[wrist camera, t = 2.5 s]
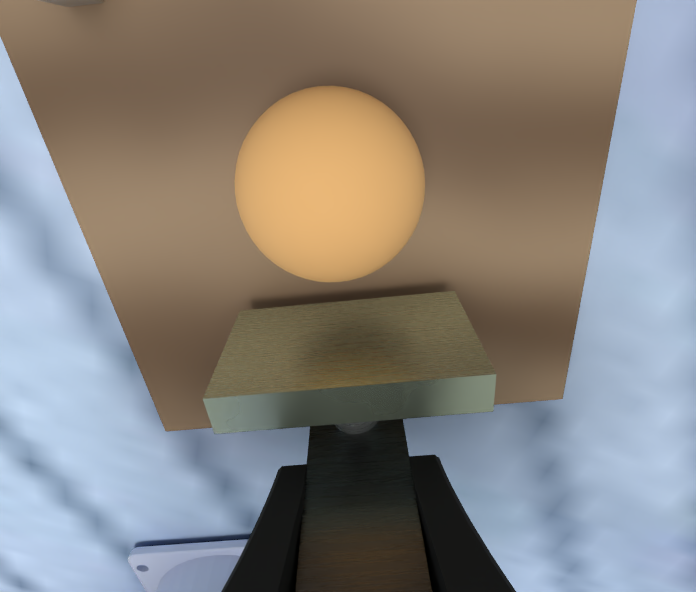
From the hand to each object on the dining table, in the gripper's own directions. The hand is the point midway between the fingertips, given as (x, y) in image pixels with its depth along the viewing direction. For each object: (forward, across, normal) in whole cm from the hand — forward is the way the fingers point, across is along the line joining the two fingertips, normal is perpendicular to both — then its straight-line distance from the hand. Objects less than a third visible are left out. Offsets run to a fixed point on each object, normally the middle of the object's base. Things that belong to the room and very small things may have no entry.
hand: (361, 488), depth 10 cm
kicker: (+3, 0, -1) cm, 4 cm away
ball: (+2, 0, -7) cm, 7 cm away
